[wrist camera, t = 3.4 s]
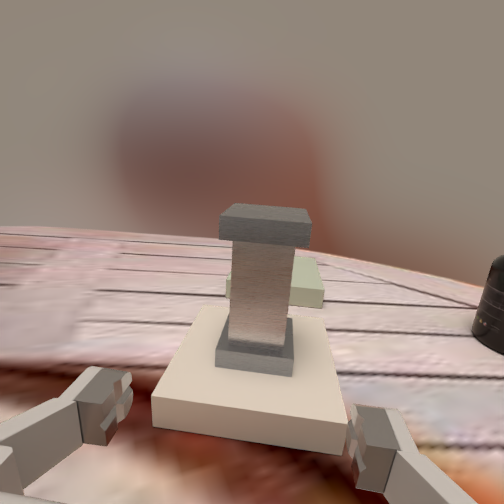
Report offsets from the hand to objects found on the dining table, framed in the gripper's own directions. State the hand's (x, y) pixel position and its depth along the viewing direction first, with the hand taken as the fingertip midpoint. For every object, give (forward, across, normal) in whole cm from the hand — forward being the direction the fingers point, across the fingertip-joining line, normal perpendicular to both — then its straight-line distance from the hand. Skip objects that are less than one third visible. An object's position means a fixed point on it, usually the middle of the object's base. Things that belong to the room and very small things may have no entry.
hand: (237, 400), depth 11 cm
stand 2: (+11, 0, +8) cm, 14 cm away
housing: (+11, 0, +6) cm, 13 cm away
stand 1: (+30, -1, +8) cm, 31 cm away
